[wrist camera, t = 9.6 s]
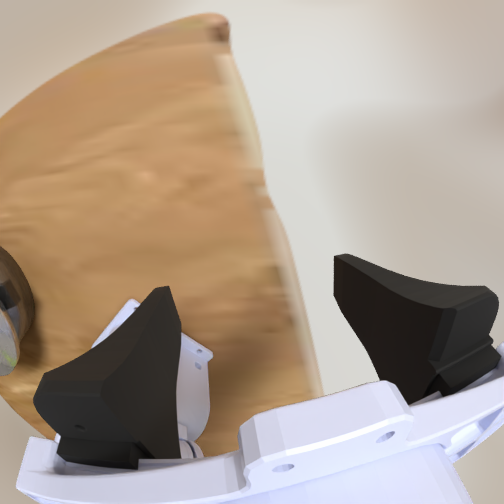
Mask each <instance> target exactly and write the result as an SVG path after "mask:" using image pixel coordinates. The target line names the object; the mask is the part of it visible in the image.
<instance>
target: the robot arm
mask: <svg viewBox="0 0 504 504" xmlns="http://www.w3.org/2000/svg"><path fill="white" fill-rule="evenodd" d="M334 297H335V299H336V301H337V304H338V306H339V308H340V310H341V312H342V313H343V315H344V317H345V318H346V320H347V321H348V323H349V324H350V326H351V327H352V329H353V331H354V332H355V333H356V335H357V337H358V338H359V340H360V341H361V343H362V344H363V346H364V347H365V349H366V351H367V353H368V355H369V357H370V359H371V361H372V363H373V365H374V367H375V370H376V372H377V374H378V377H379V379H380V381H376V382H370V383H365V384H362V385H359V386H356V387H353V388H350V389H346V390H344V391H340V392H337V393H333V394H330V395H326V396H322V397H318V398H315V399H311V400H307V401H303V402H298V403H294V404H290V405H285V406H281V407H276V408H273V409H270V410H267V411H264V412H261V413H258V414H255V415H254V416H253V417H251V418H250V419H249V420H247V421H246V422H245V423H243V424H242V425H241V426H240V428H239V433H238V443H239V450H236V451H232V452H229V453H225V454H222V455H218V456H213V457H204V456H203V453H202V451H201V449H200V447H199V446H198V445H197V444H196V443H195V442H194V441H195V440H196V439H197V438H198V437H199V436H200V435H201V433H202V432H203V430H204V428H205V426H206V424H207V421H208V418H209V413H210V396H209V380H208V361H209V360H211V359H212V358H213V353H212V351H210V350H209V349H207V348H205V347H204V346H202V345H201V344H199V343H197V342H196V341H194V340H193V339H191V338H190V337H188V336H186V335H185V334H183V333H182V332H181V321H180V319H179V316H178V313H177V309H176V306H175V303H174V300H173V297H172V294H171V291H170V288H169V286H164V287H158V288H155V289H154V290H153V291H152V292H151V293H150V294H149V295H148V296H147V297H146V299H145V300H144V301H143V302H142V303H141V304H140V303H139V302H137V301H136V300H134V299H130V300H128V301H127V302H126V304H125V305H124V306H123V307H122V309H121V310H120V311H119V312H118V313H117V315H116V316H115V317H114V318H113V320H112V321H111V322H110V323H109V325H108V326H107V327H106V328H105V330H104V331H103V332H102V333H101V335H100V336H99V337H98V338H97V340H96V341H95V342H94V344H93V345H92V349H90V350H89V351H87V352H86V353H84V354H83V355H81V356H79V357H78V358H76V359H74V360H72V361H70V362H69V363H67V364H65V365H62V366H60V367H58V368H56V369H53V370H51V371H49V372H46V373H44V375H43V377H42V379H41V381H40V384H39V386H38V388H37V390H36V393H35V395H34V397H33V403H34V406H35V408H36V410H37V412H38V413H39V414H40V415H41V417H42V418H43V419H44V420H45V421H46V422H47V423H48V424H49V425H50V426H51V427H52V428H53V429H54V430H55V431H56V432H57V433H56V437H55V440H54V441H53V440H50V439H44V438H39V437H34V436H30V438H29V441H28V444H27V447H26V451H25V454H24V457H23V461H22V464H21V468H20V471H19V475H18V479H17V484H16V488H17V489H18V490H19V491H21V492H22V493H24V494H25V495H27V496H29V497H30V498H32V499H33V500H35V501H37V502H38V503H40V504H473V502H472V500H471V498H470V496H469V494H468V492H467V490H466V489H465V486H464V485H463V483H462V481H461V479H460V477H459V475H458V474H457V472H456V470H455V468H454V466H453V465H452V464H453V463H454V462H456V461H457V460H459V459H460V458H461V457H463V456H464V455H466V454H467V453H468V452H470V451H471V450H472V449H474V448H475V447H476V446H478V445H479V444H480V443H481V442H482V441H484V440H485V439H486V438H488V437H489V436H490V435H491V434H492V433H494V432H495V431H496V430H497V429H498V428H499V427H501V426H502V425H503V424H504V342H502V343H501V344H500V345H499V346H498V347H497V348H496V350H495V349H494V348H493V346H492V345H491V344H492V343H493V339H492V338H491V337H490V336H489V333H490V331H491V328H492V326H493V323H494V321H495V318H496V315H497V312H498V307H499V301H498V297H497V295H496V294H495V293H494V292H492V291H491V290H490V289H489V288H487V287H486V286H457V285H446V284H439V283H433V282H428V281H423V280H419V279H415V278H411V277H408V276H404V275H401V274H398V273H395V272H393V271H390V270H387V269H385V268H382V267H380V266H377V265H375V264H373V263H370V262H368V261H365V260H363V259H361V258H358V257H355V256H353V255H350V254H342V255H336V256H334ZM135 307H138V308H137V309H135ZM198 349H200V350H201V351H199V350H198Z"/></svg>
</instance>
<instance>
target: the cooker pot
mask: <svg viewBox="0 0 504 504" xmlns="http://www.w3.org/2000/svg"><path fill="white" fill-rule="evenodd" d="M0 302H1V303H2V305H3V306H4V308H5V310H6V312H7V313H8V315H9V317H10V319H11V321H12V323H13V326H14V328H15V331H16V334H17V337H18V341H19V343H20V341H21V339H22V338H23V336H24V335H25V333H26V332H27V330H28V329H29V327H30V326H31V324H32V322H33V319H34V300H33V296H32V292H31V289H30V286H29V284H28V281H27V279H26V277H25V275H24V274H23V272H22V270H21V268H20V267H19V266H18V264H17V263H16V261H15V260H14V259H13V258H12V257H11V255H10V254H9V253H8V252H7V251H5V250H4V249H3V248H2V247H1V246H0Z"/></svg>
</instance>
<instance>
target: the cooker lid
mask: <svg viewBox="0 0 504 504" xmlns="http://www.w3.org/2000/svg"><path fill="white" fill-rule="evenodd" d="M19 356H20V347H19V341H18V337H17V334H16V331H15V328H14V326H13V323H12V321H11V319H10V317H9V315H8V313H7V312H6V310H5V308H4V306H3V305H2V303H1V302H0V376H4V375H8V374H10V373H11V372H12V371H13V369H14V368H15V366H16V364H17V362H18V360H19Z"/></svg>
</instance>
